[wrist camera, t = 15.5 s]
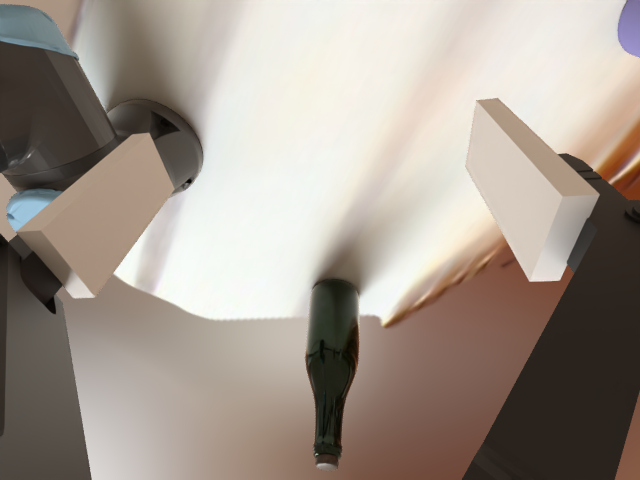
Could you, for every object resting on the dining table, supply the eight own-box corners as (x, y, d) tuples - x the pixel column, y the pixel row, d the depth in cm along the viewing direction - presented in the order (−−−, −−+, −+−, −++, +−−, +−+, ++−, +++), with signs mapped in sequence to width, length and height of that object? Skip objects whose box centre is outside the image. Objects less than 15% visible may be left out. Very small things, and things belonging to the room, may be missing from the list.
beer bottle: (309, 306, 78) (290, 476, 53) (312, 275, 71) (291, 451, 46) (355, 311, 78) (357, 483, 53) (362, 279, 71) (368, 459, 46)
